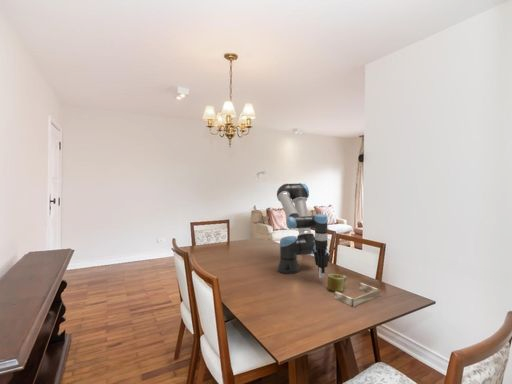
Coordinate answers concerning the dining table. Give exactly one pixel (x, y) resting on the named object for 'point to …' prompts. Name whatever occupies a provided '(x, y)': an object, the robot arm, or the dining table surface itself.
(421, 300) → the dining table surface
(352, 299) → the cradle
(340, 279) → the mug
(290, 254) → the robot arm
